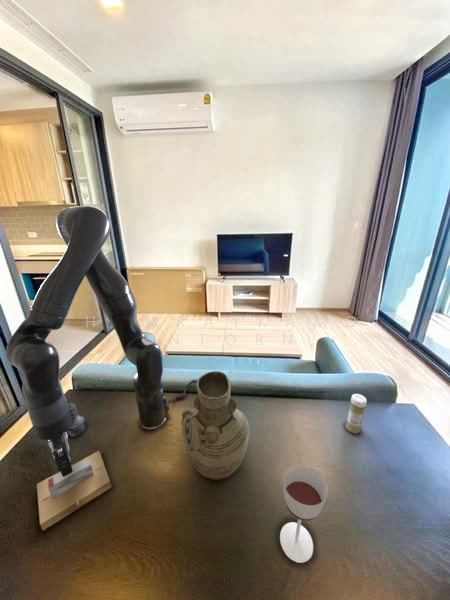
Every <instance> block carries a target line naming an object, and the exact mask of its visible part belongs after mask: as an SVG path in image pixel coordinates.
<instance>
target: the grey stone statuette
mask: <svg viewBox="0 0 450 600" xmlns="http://www.w3.org/2000/svg"><path fill="white" fill-rule="evenodd" d="M68 407H69V410H70V414H71V418H72V423H71V425H70V427H69V428H68V429H67V430H66V431H67V435H68V437H76V436H79V435H81V434H82V433H83V432H84V431H85V429H86V425H85V424H84V422H85V417H84V416H83V415H79V411H78V410H77V408H76V405H75V404H74V403H69V402H68Z"/></svg>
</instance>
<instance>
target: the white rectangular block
mask: <svg viewBox="0 0 450 600" xmlns="http://www.w3.org/2000/svg"><path fill="white" fill-rule="evenodd" d="M72 470H73V471H72V473H70V474H68V475H66V476H64V477H63V476H62V473H60V474H59V475H57V476H55V477H52V478H50V479H49V480H48V488H49V491H50V494H51V496H52V499H53V498H55V497H56V496H58V495H60V494H62V493H63V492H65V491H67V490H68V489H70V488H72V487H74V486H75V485H77V484H79V483H80V482H82V481H84V480H86V479H87V478H89V477H91V476H92V475H94V472H93V469H92V465H91V462H90V459H89V458H88V459H86V460H84V461H82V462H81V463H79V464H77V465H75V466H73V467H72Z"/></svg>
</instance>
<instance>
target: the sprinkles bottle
mask: <svg viewBox="0 0 450 600" xmlns="http://www.w3.org/2000/svg"><path fill="white" fill-rule="evenodd" d="M367 403H368V400H367V398H366V397H365V396H364V395H362V394H360V393H354V394H352V395H351V398H350V404H349V408H348V409H349V410H348V414H347V418H346V419H347V420H346V424H345V428H346V429H347V431H348V432H350V433H352V434H359V433H360V432H361V426H362V425H363V424H362V423H363V419H364V413H365V409H366V406H367Z"/></svg>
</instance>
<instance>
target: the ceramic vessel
mask: <svg viewBox="0 0 450 600" xmlns="http://www.w3.org/2000/svg"><path fill="white" fill-rule="evenodd" d="M196 380H197V382H196V384H195V385H196V391H197V392H196V393H197V396H196V397H195V398H194V400H193V408H194V409H193V410H189V409H188V410H183V412H182V413H181V417H182V418H181V419H182V420H181V427H182V438H183V442H184V446H185V449H186V453H187V456H188V457H189V461H190V462H191V465H192V466H193V468H194V469H195V470H196V471H197V472H198V474H200V475H201V476H203V477H204V478H207V479H210V480H214V481H215V480H216V481H218V480H224V479H227V478H229V477H231V475H233V474H234V473H235V472H237V470H238V469H239V468H240V466H241V464H242V462H243V460H244V457H245V455H246V453H247V448H248V445H249V438H250V425H249V421H248V419H247V417H246V416H245V414H244V412H242V411H241V410H240V409H238V407H237V402H236V400H235V399H233V398H230V397H231V388H232V387H231V383H230V379H229V377H228V375H227V374H226V373H225V372H222V371H219V370H212V371H207V372H205V373H203V374H202V375H200V376H199V377H198V378H197V379H196Z"/></svg>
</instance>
